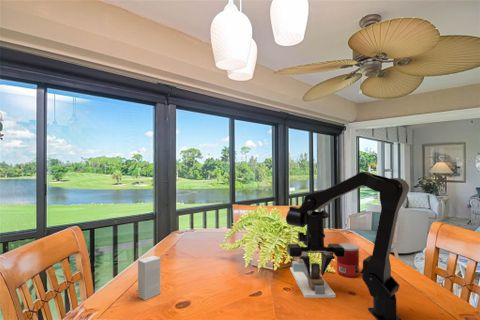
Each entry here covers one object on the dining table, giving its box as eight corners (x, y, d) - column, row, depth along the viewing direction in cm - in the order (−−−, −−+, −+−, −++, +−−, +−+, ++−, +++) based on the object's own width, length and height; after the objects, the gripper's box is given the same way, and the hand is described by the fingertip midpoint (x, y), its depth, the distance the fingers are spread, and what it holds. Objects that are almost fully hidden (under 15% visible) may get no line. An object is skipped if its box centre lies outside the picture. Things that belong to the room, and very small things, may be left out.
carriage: (324, 289, 88) (324, 267, 88) (311, 290, 87) (311, 267, 88) (319, 283, 93) (319, 261, 93) (307, 283, 92) (307, 261, 93)
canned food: (361, 279, 99) (360, 249, 99) (338, 277, 101) (338, 248, 101) (356, 271, 107) (356, 243, 107) (335, 269, 108) (335, 242, 109)
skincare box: (153, 289, 90) (154, 254, 90) (160, 293, 87) (161, 257, 88) (137, 296, 85) (137, 259, 86) (144, 301, 83) (144, 262, 83)
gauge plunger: (302, 259, 104) (302, 254, 104) (296, 259, 104) (296, 254, 104) (301, 257, 106) (301, 252, 106) (295, 257, 106) (295, 252, 106)
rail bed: (335, 297, 85) (335, 285, 85) (304, 297, 85) (304, 285, 85) (314, 269, 108) (314, 259, 108) (290, 269, 108) (290, 259, 108)
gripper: (333, 224, 99) (333, 266, 98) (283, 224, 98) (284, 266, 98) (345, 231, 88) (346, 278, 87) (290, 231, 87) (290, 279, 87)
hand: (315, 275), depth 90 cm, fingers open, 4 cm apart
